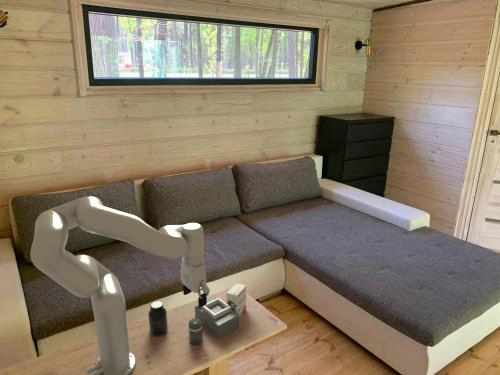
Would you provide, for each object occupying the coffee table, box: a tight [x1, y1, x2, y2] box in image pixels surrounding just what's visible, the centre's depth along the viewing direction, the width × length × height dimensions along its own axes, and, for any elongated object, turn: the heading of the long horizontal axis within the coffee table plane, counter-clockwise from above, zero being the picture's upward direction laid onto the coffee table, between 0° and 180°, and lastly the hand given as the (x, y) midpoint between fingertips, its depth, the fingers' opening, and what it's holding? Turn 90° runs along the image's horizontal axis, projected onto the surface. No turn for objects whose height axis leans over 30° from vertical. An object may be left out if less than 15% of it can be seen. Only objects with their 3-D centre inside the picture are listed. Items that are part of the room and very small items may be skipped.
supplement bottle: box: [147, 300, 169, 337], centre depth 144 cm, size 7×7×12 cm
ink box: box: [226, 282, 247, 318], centre depth 155 cm, size 8×5×12 cm, turn 152°
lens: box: [188, 317, 204, 346], centre depth 139 cm, size 5×5×8 cm
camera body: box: [194, 295, 240, 339], centre depth 149 cm, size 16×10×8 cm, turn 42°
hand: (194, 299), depth 135 cm, fingers open, 9 cm apart
